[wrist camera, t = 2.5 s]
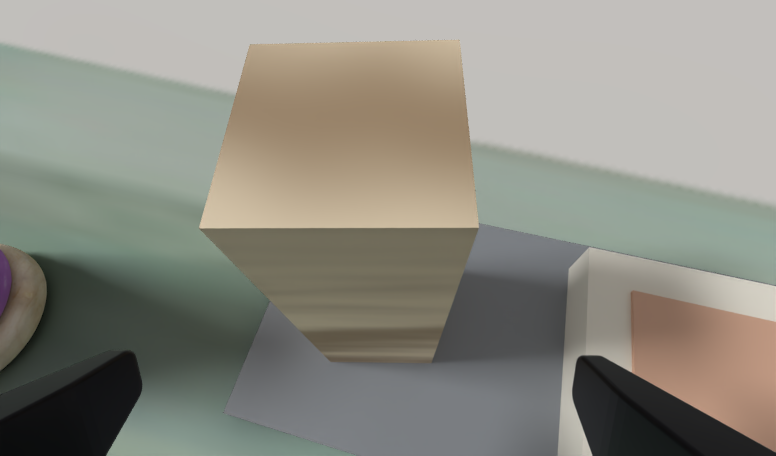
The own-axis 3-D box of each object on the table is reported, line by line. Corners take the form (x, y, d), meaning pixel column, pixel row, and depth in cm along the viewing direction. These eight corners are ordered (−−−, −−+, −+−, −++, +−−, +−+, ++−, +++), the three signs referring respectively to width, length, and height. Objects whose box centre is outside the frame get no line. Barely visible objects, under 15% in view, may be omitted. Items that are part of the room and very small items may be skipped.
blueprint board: (770, 294, 20) (842, 266, 16) (827, 601, 14) (952, 650, 11) (319, 198, 23) (306, 159, 20) (231, 414, 18) (193, 409, 15)
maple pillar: (431, 363, 18) (478, 228, 6) (330, 361, 18) (199, 228, 7) (428, 268, 20) (459, 40, 8) (338, 268, 20) (249, 44, 9)
